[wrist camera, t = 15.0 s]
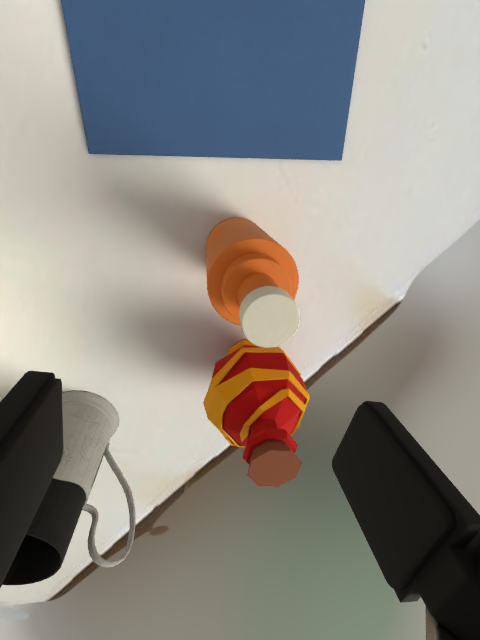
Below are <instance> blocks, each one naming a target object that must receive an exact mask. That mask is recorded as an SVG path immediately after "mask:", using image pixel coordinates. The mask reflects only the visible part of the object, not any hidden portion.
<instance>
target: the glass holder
mask: <svg viewBox="0 0 480 640" xmlns="http://www.w3.org/2000/svg"><path fill="white" fill-rule="evenodd" d="M62 413H63V446H64V449H63V455H62V459H61V461H60V464H59V466H58V468H57V470H56V472H55V474H54V476H53V479H52V481H51V483H50V485H49V487H48V489H47V491H46V493H45V495H44V497H43V500H42V502H41V504H40V506H39V508H38V510H37V512H36V514H35V516H34V518H33V520H32V523H31V525H30V527H29V529H28V531H27V533H26V535H25V537H24V539H23V541H22V544H21V546H20V548H19V550H18V552H17V554H16V556H15V558H14V560H13V562H12V565H11V567H10V569H9V571H8V573H7V575H6V577H5V579H4V581H3V583H2V585H24V584H30V583H35V582H39V581H42V580H44V579H47V578H49V577H51V576H52V575H54V574H55V573H56V572H57V571H58V570H59V569H60V568H61V565H62V563H63V560H64V557H65V555H66V552H67V549H68V546H69V544H70V541H71V538H72V536H73V533H74V530H75V527H76V525H77V522H78V519H79V516H80V514H81V511H82V510H84V511H87V512H89V513H90V514H91V515H92V524H91V528H90V531H89V537H88V550H89V553H90V556H91V558H92V559H93V561H94V562H95V563H96V564H97V565H99V566H101V567H112V566H115V565H117V564H119V563H120V562H122V561H123V560H124V559H125V557H126V556H127V555H128V553H129V552H130V549H131V546H132V542H133V538H134V531H135V507H134V501H133V497H132V492H131V489H130V487H129V485H128V483H127V481H126V480H125V478H124V476H123V474H122V472H121V471H120V469H119V468H118V466H117V464H116V463H115V461H114V459H113V458H112V456H111V454H110V452H109V449H108V448H109V439H110V437H111V436H112V435H113V434H114V433H115V431H116V430H117V427H118V424H119V416H118V413H117V411H116V409H115V408H114V407H113V405H112V404H111V403H110V402H108V401H107V400H106V399H104V398H103V397H101V396H99V395H96V394H93V393H90V392H84V391H70V392H65V393H62ZM104 455H105V457H106V459H107V461H108V463H109V465H110V467H111V468H112V470H113V471H114V473H115V475H116V476H117V478H118V480H119V482H120V484H121V485H122V487H123V490H124V492H125V494H126V498H127V502H128V508H129V514H130V529H129V536H128V543H127V546H126V549H125V552H124V554H123V555H122V557H121V558H119V559H118V560H114V561H108V560H104V559H103V558H102V557H100V555H99V554H98V552H97V550H96V547H95V539H94V536H95V530H96V526H97V522H98V512H97V510H96V509H95V508H94V507H93V506H91V505H89V504H86V503H87V500H88V497H89V495H90V492H91V489H92V486H93V483H94V481H95V478H96V475H97V472H98V470H99V467H100V464H101V461H102V458H103V456H104Z"/></svg>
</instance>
